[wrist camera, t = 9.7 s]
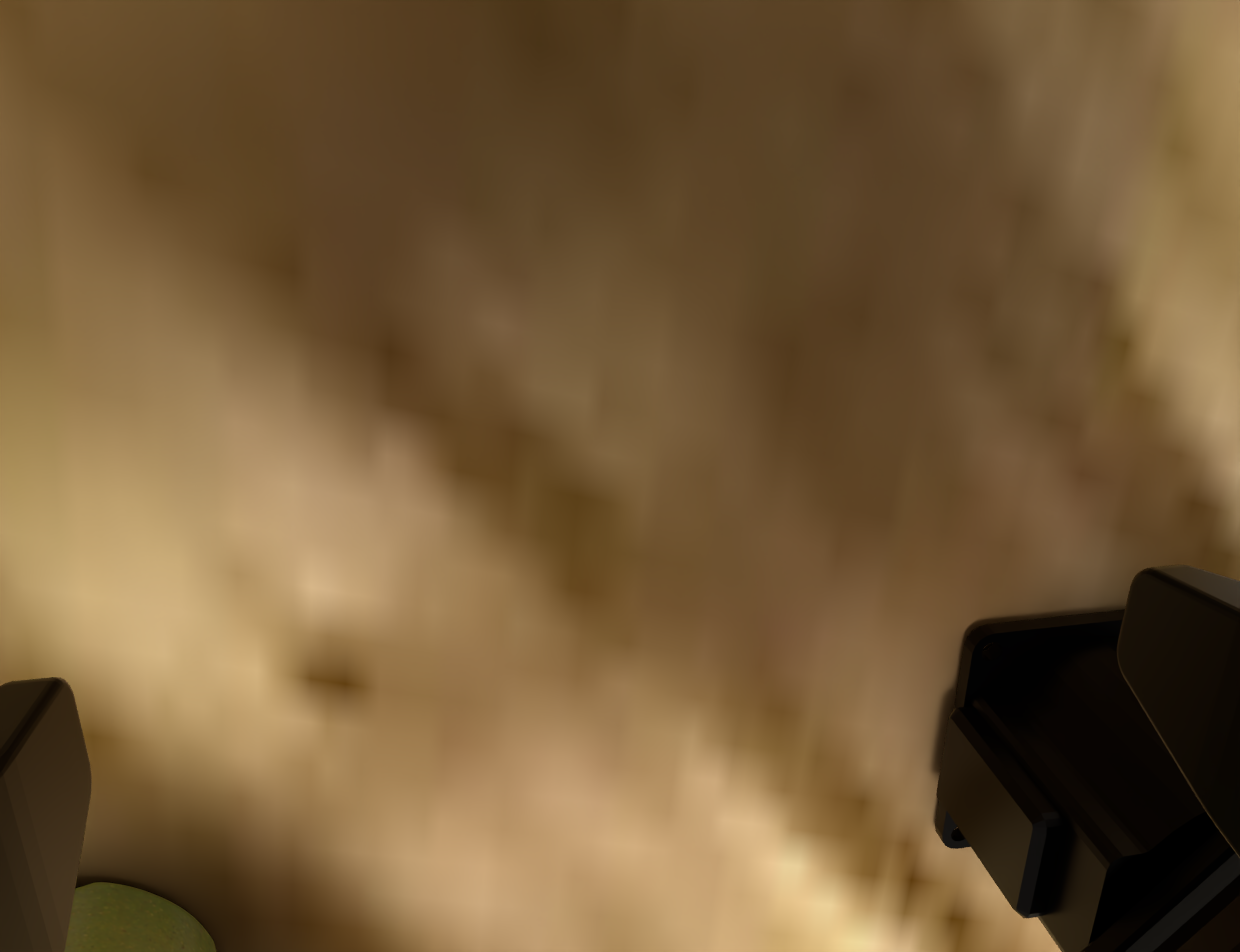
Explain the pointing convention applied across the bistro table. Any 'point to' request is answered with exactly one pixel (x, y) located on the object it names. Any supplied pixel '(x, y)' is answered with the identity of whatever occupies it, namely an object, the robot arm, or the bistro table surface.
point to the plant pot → (131, 922)
